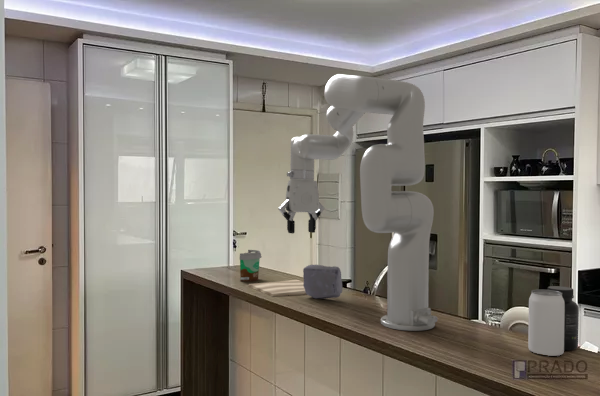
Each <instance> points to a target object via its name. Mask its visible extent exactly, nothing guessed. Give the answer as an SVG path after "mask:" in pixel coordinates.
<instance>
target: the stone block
mask: <svg viewBox="0 0 600 396" xmlns="http://www.w3.org/2000/svg"><path fill="white" fill-rule="evenodd" d="M302 271H303V275H302V277H303V282H304V284H303V286H304V289H305V292H306V294H305V295H308V296H309V297H311V298H312V299H316V300H317V299H318V300H319V299H322V300H323V299H335V298H339V297H340V296H341V294H342V293H343V278H342V271H341V269H340V268H339V266H335V265H334V266H326V265H322V264H308V265H306V266H305V267H304V268H303V269H302Z"/></svg>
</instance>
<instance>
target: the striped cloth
mask: <svg viewBox="0 0 600 396" xmlns="http://www.w3.org/2000/svg"><path fill="white" fill-rule="evenodd" d="M303 284H304V280H299V279H291V280H290V279H289V280H281V281H280V280H279V281H270V282H269V281H268V282H267V281H266V282H259V283H258V282H256V283H248V287H249V288H251V289H253V290H255V291H258V292H261V293H263V294H265V295H268V296H270V297H272V298H273V297H274V298H275V297H283V296H284V297H286V296H288V295H289V296H301V295H307V294H306V292H305V289H304V286H303Z"/></svg>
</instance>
